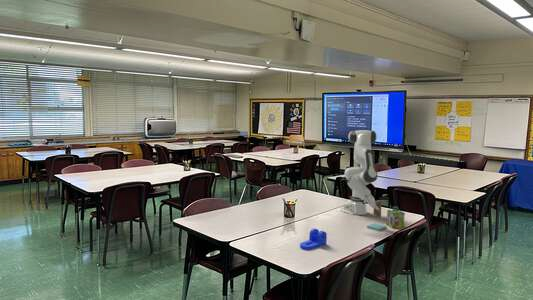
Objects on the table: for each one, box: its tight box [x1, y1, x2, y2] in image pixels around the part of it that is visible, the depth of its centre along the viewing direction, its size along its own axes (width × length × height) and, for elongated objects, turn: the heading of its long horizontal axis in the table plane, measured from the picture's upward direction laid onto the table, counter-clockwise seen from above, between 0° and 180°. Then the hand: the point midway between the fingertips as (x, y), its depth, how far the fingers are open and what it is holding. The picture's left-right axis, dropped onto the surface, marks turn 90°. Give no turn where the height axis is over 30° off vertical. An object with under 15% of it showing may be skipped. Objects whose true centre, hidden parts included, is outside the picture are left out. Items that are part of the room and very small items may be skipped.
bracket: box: [299, 228, 328, 251], centre depth 220 cm, size 18×8×9 cm, turn 131°
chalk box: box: [386, 206, 405, 229], centre depth 261 cm, size 9×9×15 cm
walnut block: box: [372, 200, 383, 218], centre depth 256 cm, size 5×5×11 cm
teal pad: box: [366, 222, 387, 232], centre depth 257 cm, size 10×10×2 cm
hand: (378, 208), depth 256 cm, fingers closed on walnut block, 5 cm apart
